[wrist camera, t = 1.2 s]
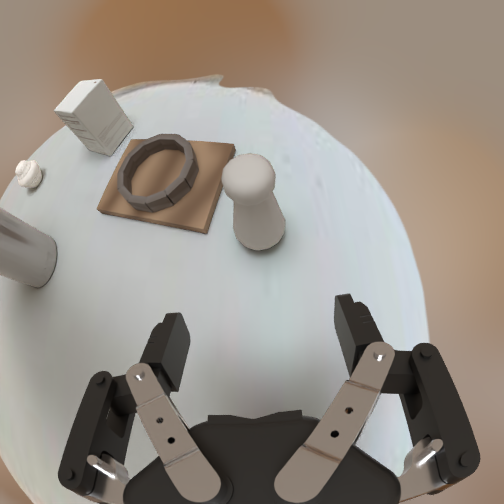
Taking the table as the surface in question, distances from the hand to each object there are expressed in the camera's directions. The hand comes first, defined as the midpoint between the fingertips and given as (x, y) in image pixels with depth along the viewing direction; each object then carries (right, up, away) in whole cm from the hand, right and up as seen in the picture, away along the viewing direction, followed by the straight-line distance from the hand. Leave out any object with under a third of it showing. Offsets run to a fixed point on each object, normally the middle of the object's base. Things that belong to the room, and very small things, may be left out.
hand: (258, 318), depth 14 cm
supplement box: (-26, +24, +28) cm, 45 cm away
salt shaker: (+1, +6, +19) cm, 20 cm away
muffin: (-46, +19, +29) cm, 57 cm away
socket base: (-13, +14, +23) cm, 30 cm away
